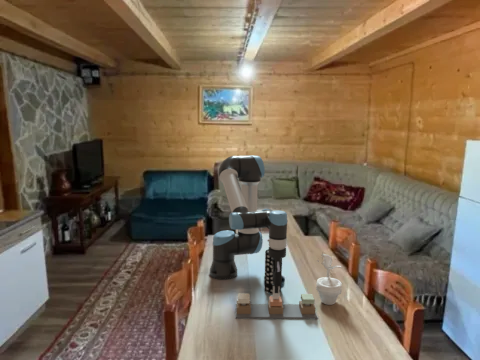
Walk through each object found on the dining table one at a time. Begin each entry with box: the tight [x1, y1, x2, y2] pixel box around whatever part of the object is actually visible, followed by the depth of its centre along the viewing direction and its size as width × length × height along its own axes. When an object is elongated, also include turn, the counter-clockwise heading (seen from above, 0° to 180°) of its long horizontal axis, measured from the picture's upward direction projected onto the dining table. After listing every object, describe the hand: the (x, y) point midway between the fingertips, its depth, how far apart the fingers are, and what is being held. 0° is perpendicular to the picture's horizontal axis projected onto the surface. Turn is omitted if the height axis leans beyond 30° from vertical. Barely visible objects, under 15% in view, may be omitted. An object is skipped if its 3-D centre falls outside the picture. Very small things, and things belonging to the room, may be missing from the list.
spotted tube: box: [263, 248, 283, 295], centre depth 181 cm, size 8×8×20 cm
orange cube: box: [268, 295, 283, 306], centre depth 161 cm, size 5×5×5 cm
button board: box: [235, 300, 319, 320], centre depth 161 cm, size 11×35×4 cm, turn 91°
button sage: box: [300, 293, 315, 306], centre depth 161 cm, size 5×5×5 cm
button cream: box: [237, 293, 251, 306], centre depth 161 cm, size 5×5×5 cm
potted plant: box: [315, 251, 343, 306], centre depth 169 cm, size 13×12×25 cm
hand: (275, 298), depth 161 cm, fingers closed
